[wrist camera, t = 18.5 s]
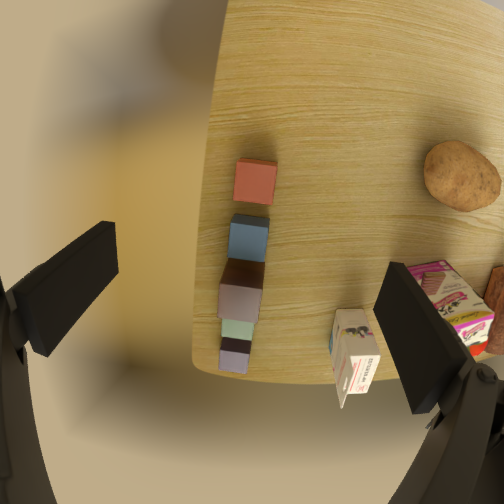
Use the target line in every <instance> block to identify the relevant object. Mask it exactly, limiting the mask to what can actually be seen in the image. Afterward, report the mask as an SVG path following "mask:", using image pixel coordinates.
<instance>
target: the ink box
mask: <svg viewBox="0 0 504 504" xmlns="http://www.w3.org/2000/svg"><path fill="white" fill-rule="evenodd" d="M329 349H330V355H331V360H332V365H333V371H334V376H335V382H336V388H337V393H338V397H339V402H340V406H341V408H343V404H344V402H345V399H346V396H347V394H356V393H367V390H368V388H369V385H370V383H371V381H372V378H373V376H374V373H375V371H376V368H377V365H378V363H379V360H380V357H381V353H380V351H379V348H378V346H377V343H376V340H375V338H374V335H373V333H372V330H371V328H370V325H369V323H368V320H367V318H366V315H365V313H364V310H363V309H337V310H336V314H335V319H334V324H333V329H332V334H331V339H330V344H329Z"/></svg>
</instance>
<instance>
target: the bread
mask: <svg viewBox="0 0 504 504" xmlns="http://www.w3.org/2000/svg"><path fill="white" fill-rule="evenodd" d="M483 300H484V301H485V303H486V304H487V305H488V306H489V307H490V308H491V309H492V311H493V312H494V313H495V314H494V319H493V322H492V323H491V324H492V325H491V329H490V332H489V335H488V343H487V345H486V347H485V349H484V351H485V352H487V353H490V354H497V355H503V354H504V266H502V267H497V268H494V269H493V271H492V274H491V278H490V281H489V284H488V287H487V290H486V293H485V296H484V299H483Z"/></svg>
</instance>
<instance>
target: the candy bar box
mask: <svg viewBox="0 0 504 504" xmlns="http://www.w3.org/2000/svg"><path fill="white" fill-rule="evenodd" d="M407 269H408V270H409V271H410V273H411V274H412V275H413V277H414V278H415V279H416V281H417V282H418V284H419V285H420V286H421V288H422V289H423V290H424V292H425V293H426V295H427V296H428V298H429V299H430V300H431V302H432V303H433V305H434V306H435V308H436V309H437V311H438V312H439V314H440V315H441V317H442V318H445V319H446V320H447V321H448V322H449V323H450V324H451V325H453V327H454V328H455V330H456V331H457V333H458V336H460V337H461V339H462V342H464V344H465V345H466V347H469V346H472V345H475V344H478V343H481V342H484V341H487V339H488V335H489V332H490V329H491V325H492V324H491V323H492V322H493V319H494V314H495V313H494V312H493V311H492V309H491V308H490V307H489V306H488V305H487V304H486V303H485V301H484V300H483V299H482V298H481V297H480V296H479V295H478V294H477V293H476V292H475V291H474V289H473V288H472V287H471V286H470V285H469V284H468V283H467V282H466V281H465V280H464V279H463V278H462V277H461V276H460V275H459V274H458V273H457V272H456V271H455V270H454V269H453V268H452V267H451V266H450V265H449V263H448V262H447V261H446V260H442V261H437V262H432V263H427V264H422V265H417V266H412V267H407Z"/></svg>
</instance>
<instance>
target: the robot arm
mask: <svg viewBox="0 0 504 504" xmlns="http://www.w3.org/2000/svg"><path fill="white" fill-rule="evenodd" d="M118 272H119V271H118V260H117V247H116V232H115V222H108V221H101V222H99V223H98V224H96V225H95V226H94V227H92V228H91V229H89V230H88V231H87V232H85V233H84V234H83V235H81V236H80V237H78V238H77V239H75V240H74V241H73V242H71V243H70V244H69V245H67V246H66V247H65V248H63V249H62V250H61V251H59V252H58V253H57V254H55V255H54V256H53V257H51V258H50V259H49V260H48V261H46V262H45V263H43V264H40V265H38V266H37V267H35V268H34V269H33V270H32V271H30V273H28V274H27V275H26V276H24V278H22V279H21V280H20V281H18V282H17V283H16V284H15V285H14V286H13V287H11V288H10V289H9V290H8V291H7V292H5V291H4V288H3V285H2V281H1V277H0V504H57V502H56V499H55V496H54V493H53V490H52V487H51V484H50V481H49V478H48V475H47V471H46V467H45V464H44V460H43V456H42V452H41V448H40V444H39V439H38V435H37V430H36V425H35V419H34V414H33V408H32V400H31V393H30V385H29V376H28V364H27V352H26V349H25V346H24V345H25V344H26V342H27V341H28V340H29V341H30V344H31V346H32V349H33V351H34V352H36V353H38V354H41V355H43V356H45V357H48V356H49V355H50V354H51V352H52V351H53V350H54V349H55V348H56V346H57V345H58V344H59V342H60V341H61V340H62V339H63V337H64V336H65V335H66V334H67V332H68V331H69V330H70V329H71V328H72V326H73V325H74V324H75V323H76V321H77V320H78V319H79V318H80V317H81V315H82V314H83V313H84V312H85V311H86V309H87V308H88V307H89V306H90V305H91V304H92V302H93V301H94V300H95V299H96V297H98V295H99V294H100V293H101V292H102V291H103V290H104V289H105V287H106V286H107V285H108V284H109V283H110V282H111V280H113V278H114V277H115V276H116V275H117V274H118ZM373 311H374V313H375V316H376V318H377V320H378V323H379V325H380V328H381V330H382V333H383V335H384V338H385V340H386V343H387V345H388V348H389V350H390V353H391V355H392V358H393V361H394V363H395V366H396V369H397V371H398V374H399V377H400V380H401V382H402V385H403V388H404V391H405V393H406V397H407V399H408V402H409V405H410V408H411V411H412V414H423V413H429V412H430V411H431V410H432V408H433V407H434V406H435V405H436V403H437V402H438V405H439V407H440V411H439V412H438V413H437V415H436V416H435V417H434V418H433V419H432V420H431V422H430V423H429V424H428V425H427V426H426V428H427V429H428V428H429V427H430V426H431V427H430V429H429V431H428V433H427V436H426V438H425V440H424V442H423V444H422V446H421V448H420V450H419V452H418V454H417V455H416V457H415V459H414V461H413V463H412V465H411V467H410V468H409V470H408V472H407V474H406V476H405V477H404V479H403V480H402V482H401V484H400V485H399V487H398V489H397V490H396V492H395V493H394V495H393V496H392V498H391V500H390V501H389V503H388V504H504V381H503V380H499V379H498V377H497V374H496V373H495V372H494V370H493V369H492V368H490V367H489V366H487V365H485V364H483V363H476V362H475V360H474V358H473V357H472V355H471V353H470V352H469V350H468V349H467V347H466V345H465V344H464V342H462V339H461V337H460V336H458V333H457V331H456V330H455V328H454V327H453V325H451V324H450V323H449V322H448V321H447V320H446V319H445V318H442V317H441V315H440V314H439V312H438V311H437V309H436V308H435V306H434V305H433V303H432V302H431V300H430V299H429V298H428V296H427V295H426V293H425V292H424V290H423V289H422V288H421V286H420V285H419V284H418V282H417V281H416V279H415V278H414V277H413V275H412V274H411V273H410V271H409V270H408V269H407V267H406V266H405V265H404V263H397V262H391V261H390V263H389V266H388V269H387V272H386V275H385V278H384V281H383V284H382V286H381V289H380V292H379V295H378V298H377V300H376V303H375V306H374V308H373Z"/></svg>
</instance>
